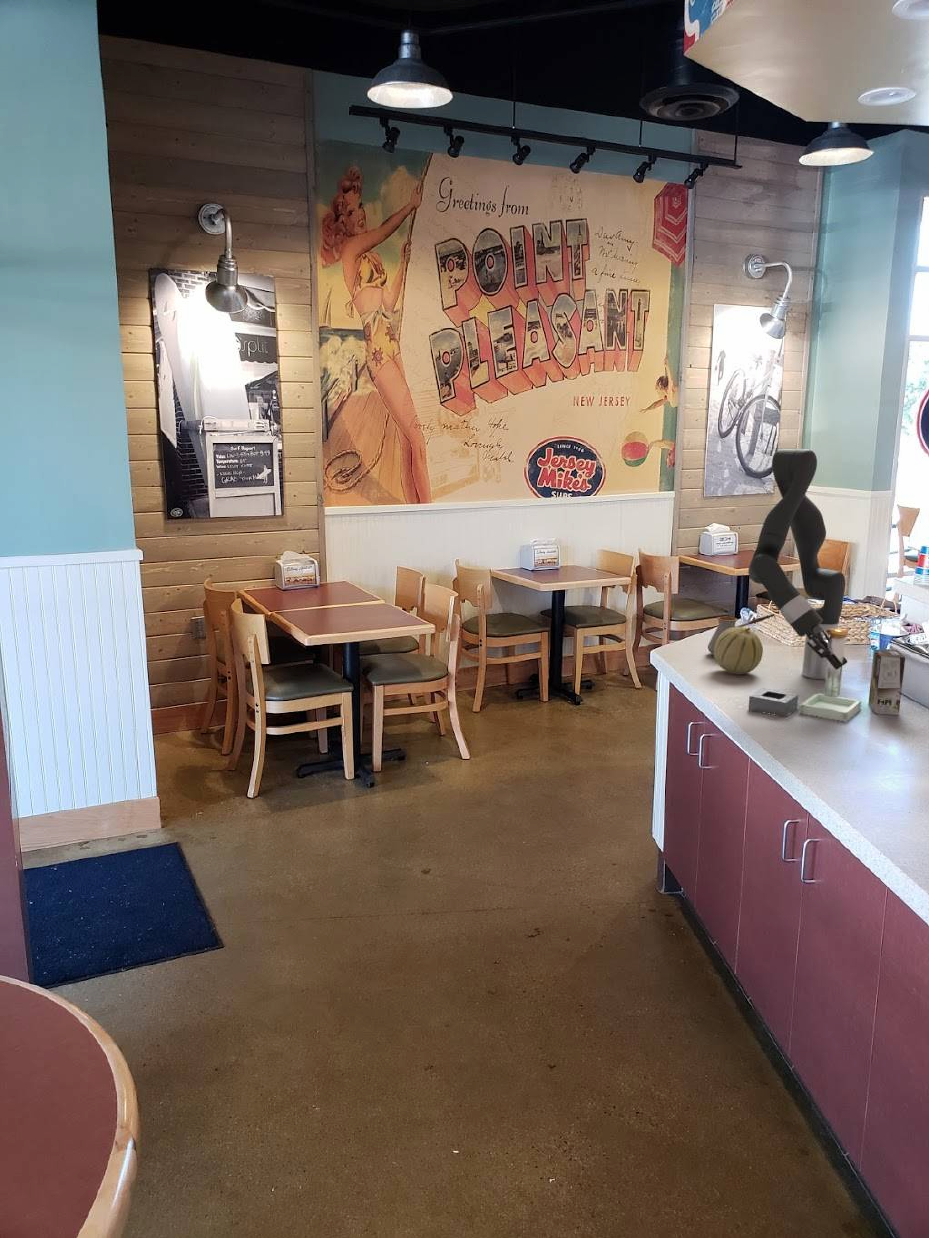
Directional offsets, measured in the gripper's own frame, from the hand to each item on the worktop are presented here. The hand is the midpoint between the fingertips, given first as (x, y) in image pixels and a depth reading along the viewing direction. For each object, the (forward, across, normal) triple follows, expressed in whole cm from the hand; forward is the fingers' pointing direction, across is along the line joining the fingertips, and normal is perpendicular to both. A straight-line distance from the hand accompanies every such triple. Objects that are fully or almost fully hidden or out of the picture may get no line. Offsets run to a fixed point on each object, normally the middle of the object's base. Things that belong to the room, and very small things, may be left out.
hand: (842, 665), depth 254 cm
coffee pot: (-22, +43, +40) cm, 63 cm away
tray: (+8, 0, +11) cm, 13 cm away
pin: (+5, 0, +7) cm, 9 cm away
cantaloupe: (-17, +22, +36) cm, 45 cm away
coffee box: (+16, +11, +3) cm, 20 cm away
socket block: (-1, -8, +20) cm, 21 cm away
